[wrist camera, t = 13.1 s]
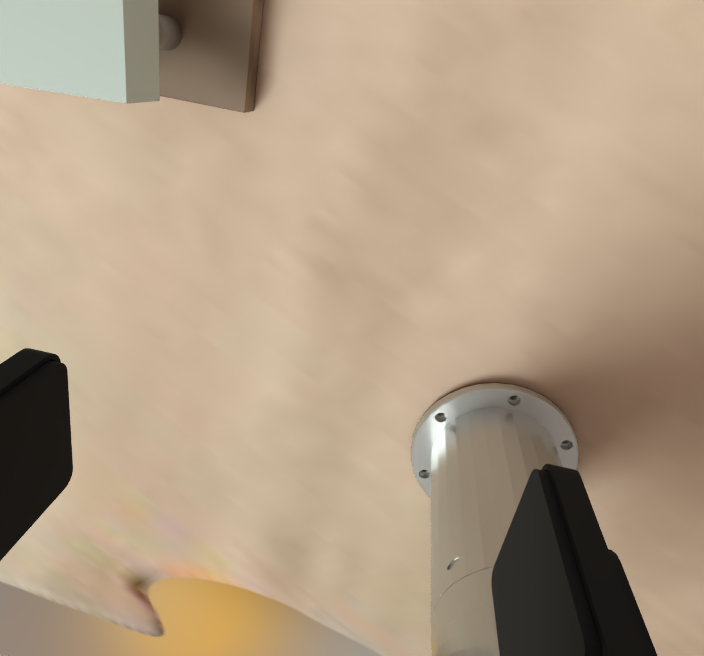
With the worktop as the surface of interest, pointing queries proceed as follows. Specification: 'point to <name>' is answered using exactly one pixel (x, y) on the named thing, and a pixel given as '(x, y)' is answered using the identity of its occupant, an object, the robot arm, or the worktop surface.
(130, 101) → the shelf board
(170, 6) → the peg stand
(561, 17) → the worktop surface
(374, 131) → the worktop surface
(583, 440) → the worktop surface
